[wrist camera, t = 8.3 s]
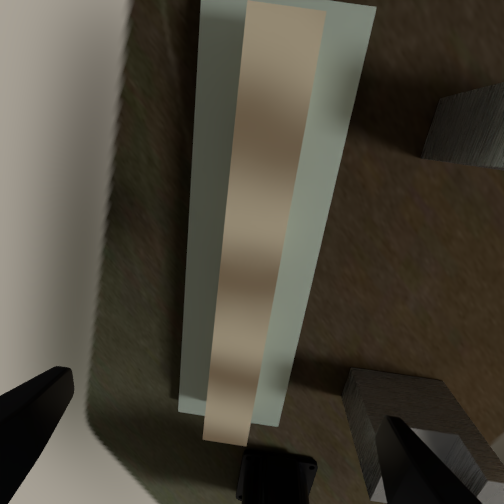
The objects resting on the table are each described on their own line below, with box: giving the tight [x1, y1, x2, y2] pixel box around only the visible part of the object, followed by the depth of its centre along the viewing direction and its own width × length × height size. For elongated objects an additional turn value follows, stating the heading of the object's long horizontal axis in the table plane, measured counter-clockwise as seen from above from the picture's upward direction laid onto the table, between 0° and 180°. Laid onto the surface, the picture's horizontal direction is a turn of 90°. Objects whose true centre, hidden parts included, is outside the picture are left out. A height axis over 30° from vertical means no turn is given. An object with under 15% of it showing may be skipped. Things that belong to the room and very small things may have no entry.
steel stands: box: [341, 82, 504, 504], centre depth 15 cm, size 21×7×7 cm, turn 172°
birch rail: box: [203, 0, 327, 446], centre depth 17 cm, size 24×3×3 cm, turn 172°
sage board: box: [178, 0, 377, 427], centre depth 18 cm, size 27×8×1 cm, turn 172°
